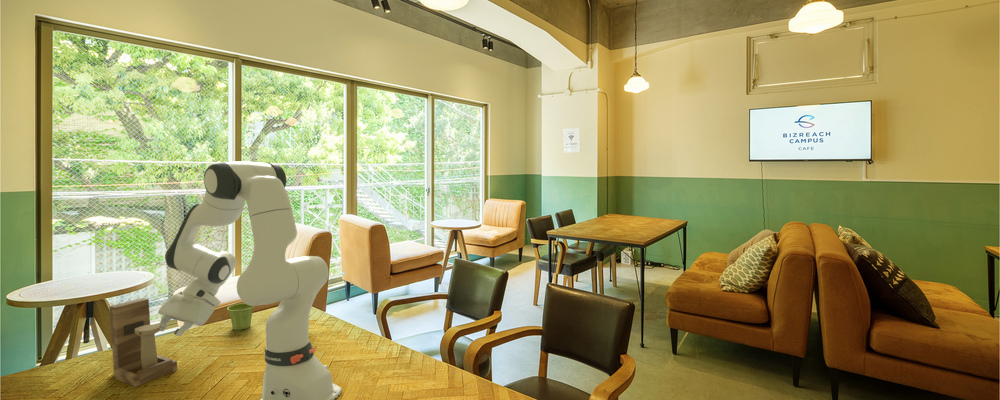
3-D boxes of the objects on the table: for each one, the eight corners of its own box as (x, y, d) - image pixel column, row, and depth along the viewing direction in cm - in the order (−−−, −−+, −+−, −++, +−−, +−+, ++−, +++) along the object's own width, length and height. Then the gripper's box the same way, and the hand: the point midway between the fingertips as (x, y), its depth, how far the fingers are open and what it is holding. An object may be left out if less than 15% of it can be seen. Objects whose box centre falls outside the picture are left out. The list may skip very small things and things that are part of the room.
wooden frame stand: (177, 370, 138) (173, 303, 136) (135, 386, 128) (130, 314, 126) (151, 361, 144) (147, 296, 142) (109, 376, 133) (104, 307, 131)
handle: (148, 369, 138) (145, 324, 137) (166, 371, 137) (163, 325, 136) (133, 377, 133) (130, 330, 132) (152, 378, 132) (149, 331, 131)
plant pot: (237, 322, 178) (237, 302, 178) (260, 323, 178) (259, 303, 177) (222, 331, 169) (221, 310, 168) (246, 332, 169) (245, 310, 168)
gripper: (172, 286, 150) (141, 323, 142) (210, 294, 141) (179, 333, 133) (186, 295, 154) (157, 331, 146) (224, 303, 146) (195, 342, 138)
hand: (168, 332), depth 140 cm, fingers open, 8 cm apart
